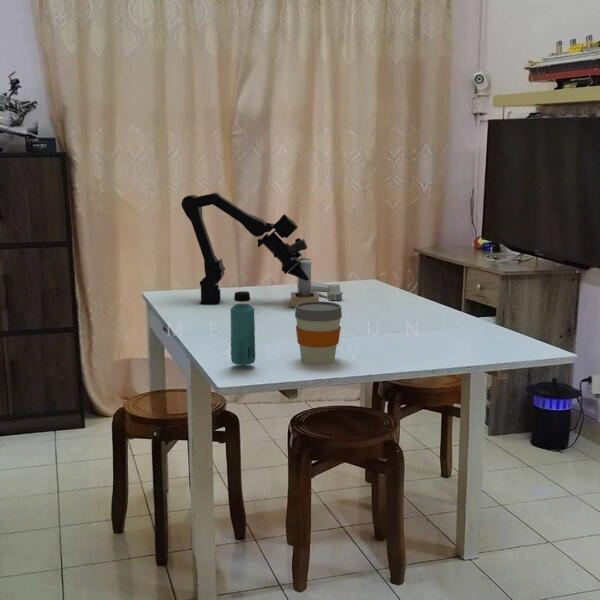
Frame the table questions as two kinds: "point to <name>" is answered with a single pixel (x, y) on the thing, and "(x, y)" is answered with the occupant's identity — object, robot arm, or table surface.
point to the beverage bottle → (242, 331)
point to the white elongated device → (328, 290)
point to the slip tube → (303, 285)
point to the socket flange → (302, 298)
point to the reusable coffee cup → (318, 331)
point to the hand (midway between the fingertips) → (308, 278)
